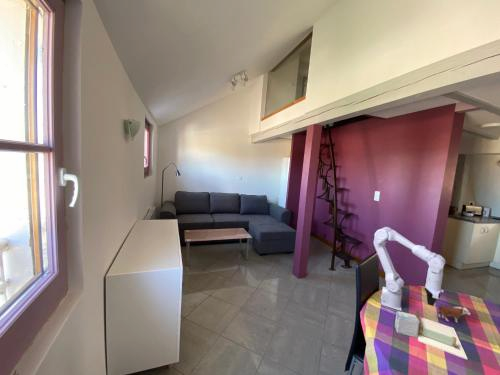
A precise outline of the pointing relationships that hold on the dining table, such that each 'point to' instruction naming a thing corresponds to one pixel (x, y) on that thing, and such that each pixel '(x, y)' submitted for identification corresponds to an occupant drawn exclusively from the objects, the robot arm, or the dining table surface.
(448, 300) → the dining table surface
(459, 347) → the board
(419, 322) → the fixed fence section
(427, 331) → the hinged fence panel
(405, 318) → the medicine box
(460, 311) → the bull figurine
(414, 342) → the dining table surface
